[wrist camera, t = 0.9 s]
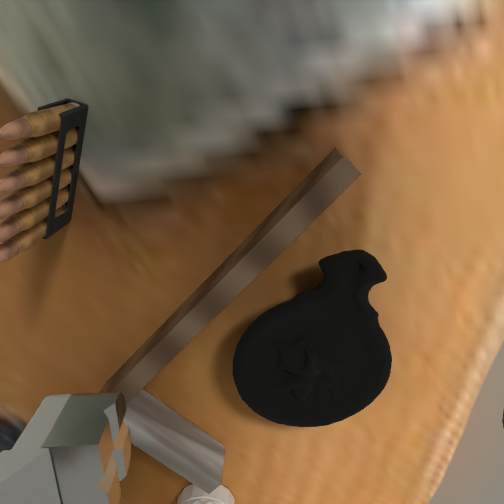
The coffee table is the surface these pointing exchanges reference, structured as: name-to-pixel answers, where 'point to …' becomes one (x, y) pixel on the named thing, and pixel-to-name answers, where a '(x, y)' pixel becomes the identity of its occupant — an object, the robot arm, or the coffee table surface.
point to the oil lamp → (317, 349)
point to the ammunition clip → (40, 174)
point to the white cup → (205, 496)
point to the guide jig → (201, 314)
